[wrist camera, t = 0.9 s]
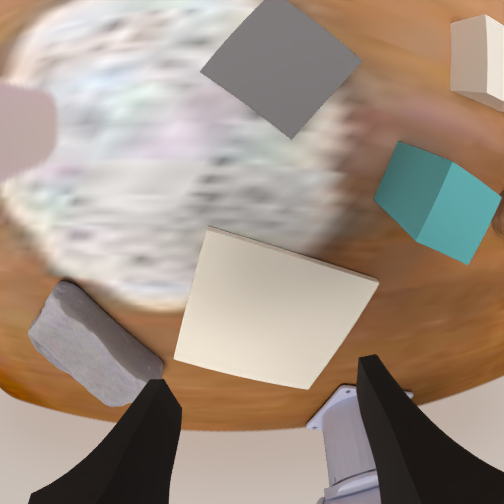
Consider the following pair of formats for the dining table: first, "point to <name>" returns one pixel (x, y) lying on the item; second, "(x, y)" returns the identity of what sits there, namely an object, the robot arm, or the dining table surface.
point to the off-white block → (478, 60)
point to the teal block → (436, 201)
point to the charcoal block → (281, 65)
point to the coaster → (267, 311)
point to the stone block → (92, 347)
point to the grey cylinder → (499, 218)
